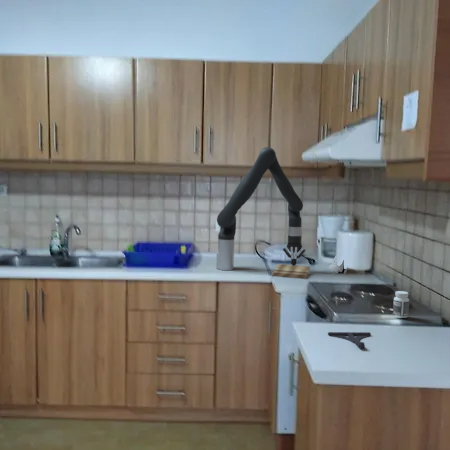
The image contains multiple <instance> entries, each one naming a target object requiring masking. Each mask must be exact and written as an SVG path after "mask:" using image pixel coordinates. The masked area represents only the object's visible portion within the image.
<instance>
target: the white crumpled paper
mask: <svg viewBox="0 0 450 450" xmlns="http://www.w3.org/2000/svg"><path fill="white" fill-rule="evenodd" d="M328 269H329V270H330V271H332V272H334V273H335V274H338V273H339V272H340V273H343V274H346V273H347V270H348V268H347V269H344V260H343V262H342V264H341V265H340V266H338V265H337V255H335V256H334V258H333V260H332V263H331V264H329V266H328Z"/></svg>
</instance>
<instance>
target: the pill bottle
mask: <svg viewBox="0 0 450 450" xmlns="http://www.w3.org/2000/svg"><path fill="white" fill-rule="evenodd" d="M394 293H395V294H394V295H395V296H394V298H393V303H392V304H393V306H392V315H393V314H395V315H403V316H405V315H408V314H410V313H409V311H410V309H409V308H410V299H409V298H408V297H409V292H408V291H403V290H396V291H395V292H394ZM408 316H409V315H408Z"/></svg>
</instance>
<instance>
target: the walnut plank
mask: <svg viewBox="0 0 450 450" xmlns="http://www.w3.org/2000/svg"><path fill="white" fill-rule="evenodd" d="M271 274H272V277H278V278H279V277H280V278H290V279H291V278H293V279H301V280H302V279H304V280H306V279H307V278H308V276H309V274H308V272H297V271H284V270H275V269H274V271H273V272H272V273H271Z"/></svg>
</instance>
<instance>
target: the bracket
mask: <svg viewBox="0 0 450 450" xmlns="http://www.w3.org/2000/svg"><path fill="white" fill-rule="evenodd" d="M327 335H328V336H329V337H332V338H339V339H343V340H347V341H349V342H351V343H354V345H356V347H357V348H358V349H359V350H360V351H365V350H366V345H365V342H363V341H360V340H362V339H366V338H370V337H371V336H372V334H371V332H370V331H367V332H366V331H365V332H363V331H360V332H357V331H355V332H354V331H353V332H351V331H350V332H349V331H348V332H347V331H346V332H343V331H342V332H339V331H337V332H335V331H334V332H333V331H330V332H329V331H328V332H327Z"/></svg>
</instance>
